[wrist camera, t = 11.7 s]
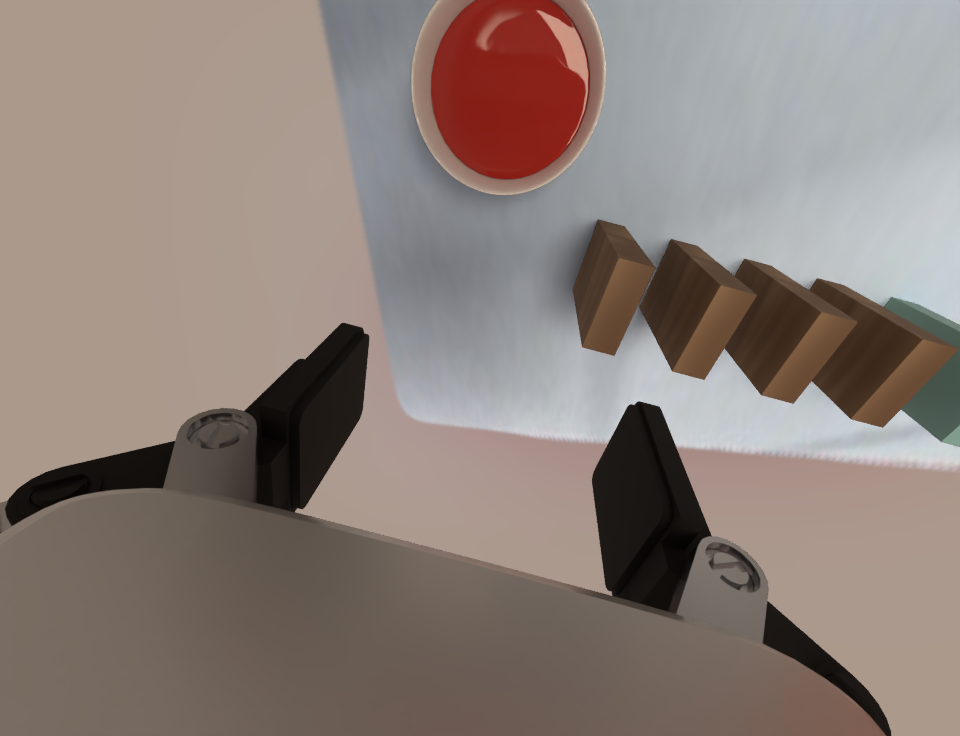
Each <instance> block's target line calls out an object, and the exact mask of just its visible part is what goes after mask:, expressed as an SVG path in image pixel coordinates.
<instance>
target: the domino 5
mask: <svg viewBox="0 0 960 736" xmlns="http://www.w3.org/2000/svg"><path fill="white" fill-rule="evenodd" d="M884 308H886V309H888V310H889V311H891V312H893V313H895V314H897V315H898V316H900V317H902V318H904V319H906V320H907V321H909V322H911V323H913V324H915V325H916V326H918V327H920V328H922V329H924V330H925V331H927V332H929V333H931V334H933V335H934V336H936V337H938V338H940V339H942V340H944V341H945V342H947V343H949V344H951V345H953V346H954V347H956V348H958V349H959V350H958V351H957V352H956V353H955V354H954V355H953V356H952V357H951V358H950V359H949V360H948V361H947V362H946V363H945V364H944V365H943V366H942V368H941V369H940V370H939V371H938V372H937V373H936V374H935V375H934V376H933V377H932V378H931V379H930V380H929V381H928V382H927V383H926V384H925V385H924V386H923V387H922V388H921V389H920V390H919V391H918V392H917V393H916V394H915V395H914V396H913V397H912V398H911V399H910V400H909V401H908V402H907V403H906V404H905V406H904V407H903V408H902V409H901V410H903V411H904V412H905V413H906V414H907V415H909V416H910V417H911V418H912V419H914V420H915V421H916V422H917V423H919V424H920V425H921V426H922V427H924V428H925V429H926V430H927V431H928V432H930V433H931V434H932V435H933V436H935V437H936V438H937V439H938V440H940V441H941V442H944V443H947V444H951V445H954V446H958V447H960V325H959V324H957V323H955V322H953V321H951V320H949V319H947V318H945V317H943V316H941V315H939V314H937V313H935V312H933V311H931V310H929V309H926V308H924V307H922V306H920V305H918V304H915V303H911V302H908V301H904V300H901V299H897V298H894V297H892V298H891V299H890V300H889V302H888V303H887V304H886V305H885V306H884Z"/></svg>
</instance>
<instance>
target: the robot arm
mask: <svg viewBox="0 0 960 736" xmlns="http://www.w3.org/2000/svg"><path fill="white" fill-rule="evenodd" d="M368 347H369V335H368V334H364V330H363V328H361V327H357V326H354V325H350V324H346V323H341V324H340V325H339V326H338V327H337V328H336V329H335V330H334V331H333V332H332V333H331V334H330V335H329V336H328V337H327V338H326V339H325V340H324V341H323V342H322V343H321V344H320V345H319V346H318V347H317V348H316V349H315V350H314V351H313V352H312V353H311V354H310V355H309V356H308V357H307V358H306V359H299V360H297V361H296V362H295V363H293V364H292V365H291V366H290V367H289V368H288V369H287V370H286V371H285V372H284V373H283V374H282V375H281V376H280V377H279V378H278V379H277V380H276V381H275V382H274V383H273V384H272V385H271V386H270V387H269V388H268V389H267V390H266V391H265V392H264V393H262V394H261V396H259V397H258V398H257V400H255V401H254V402H253V403H252V404H251V405H250V406H249V407H248V408H247V409H246V410H245V411H241V410H237V409H228V408H221V409H213V410H209V411H206V412H202V413H199V414H197V415H195V416H193V417H192V418H190V419H188V420H187V421H186V422H185V423H184V424H183V425H182V426H181V428H180V429H179V431H178V433H177V437H176V441H173V442H168V443H164V444H160V445H156V446H152V447H147V448H142V449H138V450H134V451H130V452H125V453H121V454H117V455H112V456H108V457H104V458H99V459H95V460H91V461H86V462H82V463H78V464H74V465H69V466H65V467H61V468H58V469H55V470H51V471H48V472H45V473H43V474H41V475H39V476H37V477H35V478H33V479H31V480H30V481H28V482H27V483H25V484H24V485H22V486H21V487H20V488H18V489H17V490H16V491H15V493H14V494H13V495H12V496H11V497H10V498H9V500H8V501H5V502H2V503H0V736H891V730H890V728H889V724H888V721H887V718H886V717H885V715H884V713H883V712H882V710H881V708H880V706H879V704H878V703H877V702H876V700H875V699H874V698H873V696H872V695H871V694H870V693H869V691H868V690H867V689H866V688H865V687H864V686H863V685H862V684H861V683H860V682H859V681H858V680H857V679H856V678H855V677H854V676H853V675H852V674H851V673H849V672H848V671H847V670H846V669H845V668H844V667H843V666H841V665H840V664H839V663H838V662H837V661H836V660H835V659H833V658H832V657H831V656H830V655H829V654H828V653H826V652H825V651H824V650H823V649H822V648H821V647H820V646H819V645H817V644H816V643H815V642H814V641H813V640H812V639H811V638H809V637H808V636H807V635H806V634H805V633H804V632H803V631H801V630H800V629H799V628H798V627H797V626H795V624H793V623H792V622H791V621H790V620H789V619H788V618H787V617H785V616H784V615H783V614H782V613H781V612H780V611H778V610H777V609H776V608H775V607H774V606H773V605H772V604H770V603H769V602H768V601H767V599H768V581H767V579H766V577H765V574H764V572H763V570H762V569H761V568H760V566H759V565H758V563H757V562H756V561H755V560H754V559H753V558H752V557H751V556H750V555H749V554H748V553H747V552H746V551H745V550H743V549H742V548H741V547H739V546H738V545H736V544H734V543H732V542H731V541H728V540H726V539H723V538H720V537H713V536H711V533H710V531H709V528H708V526H707V524H706V521H705V518H704V516H703V513H702V511H701V508H700V506H699V503H698V501H697V498H696V496H695V494H694V491H693V488H692V486H691V483H690V481H689V478H688V476H687V473H686V471H685V468H684V466H683V463H682V461H681V458H680V456H679V453H678V451H677V448H676V446H675V443H674V441H673V438H672V436H671V433H670V431H669V428H668V426H667V423H666V421H665V418H664V416H663V413H662V411H661V409H660V407H658V406H655V405H651V404H647V403H643V402H640V401H639V402H637V403H636V404H635V405H629V406H628V407H627V409H626V411H625V413H624V415H623V416H622V418H621V420H620V422H619V424H618V426H617V428H616V430H615V432H614V434H613V436H612V437H611V439H610V441H609V443H608V445H607V447H606V449H605V451H604V453H603V455H602V457H601V458H600V460H599V462H598V464H597V466H596V468H595V471H594V473H593V478H592V485H593V493H594V500H595V508H596V516H597V523H598V531H599V539H600V547H601V554H602V562H603V569H604V578H605V585H606V588H607V590H609V591H612V596H610V595H606V594H603V593H599V592H595V591H592V590H588V589H584V588H581V587H577V586H573V585H570V584H566V583H562V582H558V581H555V580H551V579H547V578H544V577H540V576H536V575H533V574H529V573H525V572H521V571H518V570H514V569H510V568H506V567H503V566H499V565H495V564H491V563H487V562H483V561H480V560H476V559H472V558H469V557H465V556H461V555H457V554H453V553H450V552H445V551H442V550H438V549H434V548H430V547H427V546H423V545H419V544H415V543H412V542H408V541H404V540H400V539H396V538H393V537H389V536H385V535H381V534H377V533H373V532H369V531H366V530H362V529H358V528H354V527H350V526H346V525H342V524H338V523H335V522H331V521H327V520H323V519H319V518H315V517H312V516H308V515H303V514H299V513H295V510H296V509H297V508H299V509H303V508H304V507H305V506H306V504H307V503H308V502H309V500H310V498H311V497H312V495H313V494H314V492H315V490H316V489H317V487H318V486H319V484H320V482H321V481H322V479H323V477H324V476H325V474H326V473H327V471H328V469H329V468H330V466H331V465H332V463H333V461H334V460H335V458H336V456H337V455H338V453H339V452H340V450H341V448H342V447H343V445H344V444H345V442H346V440H347V439H348V437H349V436H350V434H351V432H352V431H353V429H354V427H355V426H356V424H357V423H358V421H359V419H360V417H361V414H362V410H363V401H364V390H365V379H366V369H367V357H368Z"/></svg>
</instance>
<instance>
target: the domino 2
mask: <svg viewBox="0 0 960 736" xmlns="http://www.w3.org/2000/svg"><path fill="white" fill-rule="evenodd" d="M756 296H757V294H755V293H754V292H753V291H752V290H750V289H749V288H748V287H747V286H746V285H744V284H743V283H742V282H741V281H740V280H738V279H737V278H736V277H735V276H733V275H732V274H731V273H730V272H729V271H727V270H726V269H725V268H724V267H723V266H721V265H720V264H719V263H718V262H716V261H715V260H714V259H713V258H712V257H710V256H709V255H708V254H707V253H706V252H704V251H703V250H702V249H701V248H699V247H698V246H695V245H691V244H688V243H684V242H680V241H676V240H673V239H671V241H670V244H669V246H668V248H667V250H666V252H665V254H664V256H663V259H662V261H661V263H660V265H659V267H658V269H657V271H656V273H655V276H654V278H653V280H652V282H651V284H650V286H649V288H648V290H647V293H646V295H645V297H644V299H643V301H642V303H641V305H640V309H641V311H642V313H643V315H644V317H645V319H646V321H647V323H648V325H649V327H650V329H651V331H652V333H653V335H654V337H655V338H656V340H657V342H658V344H659V346H660V348H661V350H662V352H663V354H664V356H665V358H666V360H667V362H668V364H669V366H670V368H671V370H672V371H673V372H677V373H680V374H684V375H688V376H692V377H695V378H699V379H703V380H705V378H706V377H707V375H708V373H709V372H710V370H711V369H712V367H713V365H714V364H715V362H716V361H717V359H718V357H719V356H720V354H721V353H722V351H723V349H724V348H725V346H726V344H727V343H728V341H729V340H730V338H731V336H732V335H733V333H734V332H735V330H736V328H737V327H738V325H739V324H740V322H741V320H742V319H743V317H744V316H745V314H746V312H747V311H748V309H749V308H750V306H751V304H752V303H753V301H754V300H755V298H756Z"/></svg>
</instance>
